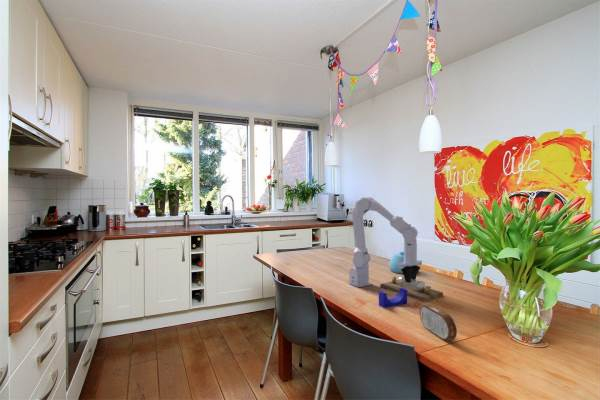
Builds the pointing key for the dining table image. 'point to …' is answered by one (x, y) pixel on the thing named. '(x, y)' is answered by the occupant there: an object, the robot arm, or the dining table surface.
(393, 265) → the sugar bowl
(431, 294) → the peg rack
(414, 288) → the silver cylinder
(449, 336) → the speaker
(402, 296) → the cable clip
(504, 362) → the dining table surface
